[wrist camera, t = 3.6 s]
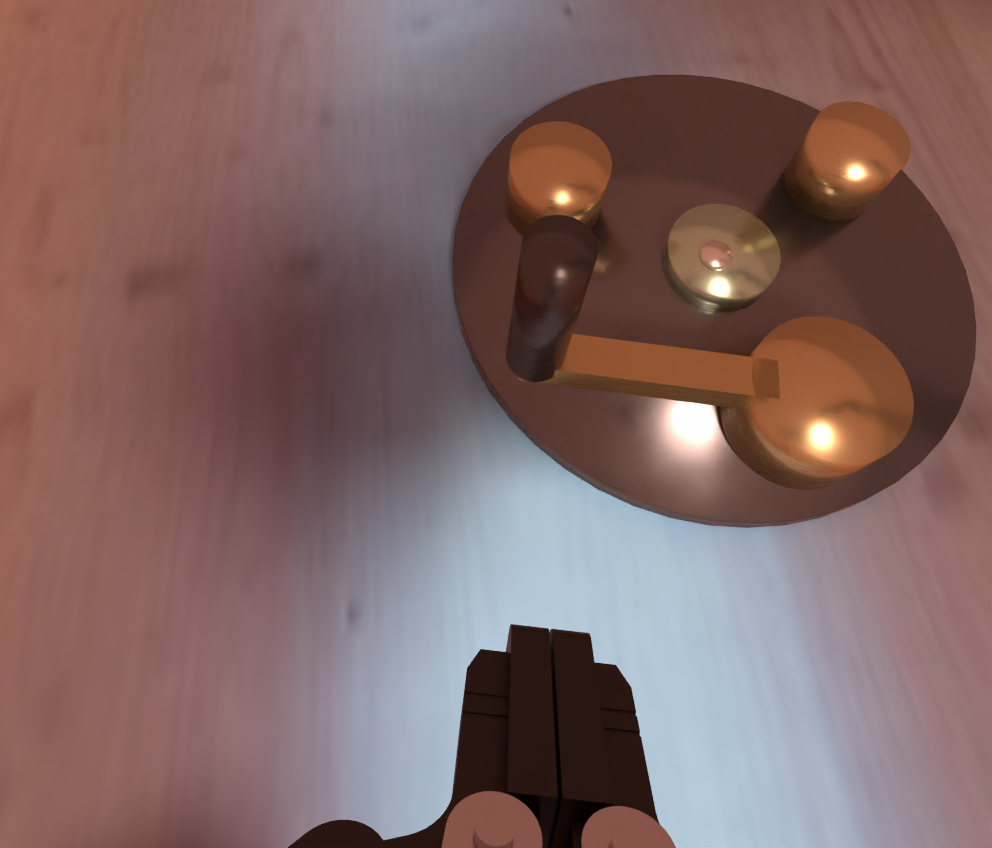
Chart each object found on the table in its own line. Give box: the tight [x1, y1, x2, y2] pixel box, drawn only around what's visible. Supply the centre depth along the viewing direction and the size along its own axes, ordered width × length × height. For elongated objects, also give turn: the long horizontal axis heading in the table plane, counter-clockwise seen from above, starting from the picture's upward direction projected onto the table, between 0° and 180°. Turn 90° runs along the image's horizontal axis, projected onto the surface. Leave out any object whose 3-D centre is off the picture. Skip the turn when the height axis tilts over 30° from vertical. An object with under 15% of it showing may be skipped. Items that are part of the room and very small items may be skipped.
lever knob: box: [506, 215, 914, 490], centre depth 23 cm, size 15×6×9 cm, turn 83°
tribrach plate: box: [453, 75, 976, 528], centre depth 30 cm, size 24×24×4 cm
